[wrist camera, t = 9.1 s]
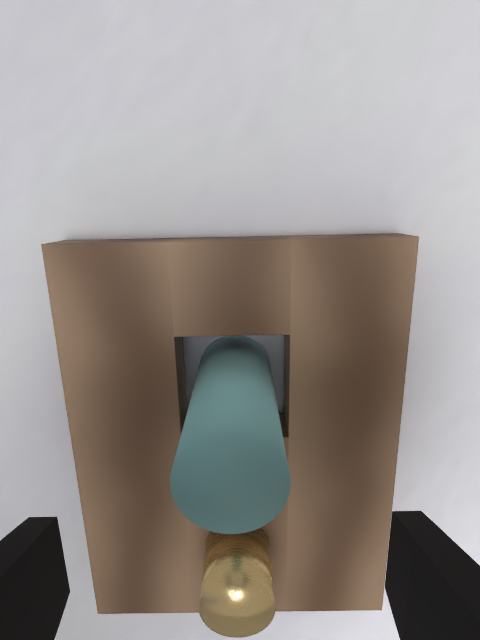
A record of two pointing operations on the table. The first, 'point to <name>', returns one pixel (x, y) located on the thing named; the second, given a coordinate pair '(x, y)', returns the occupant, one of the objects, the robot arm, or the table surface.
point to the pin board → (296, 423)
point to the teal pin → (231, 443)
